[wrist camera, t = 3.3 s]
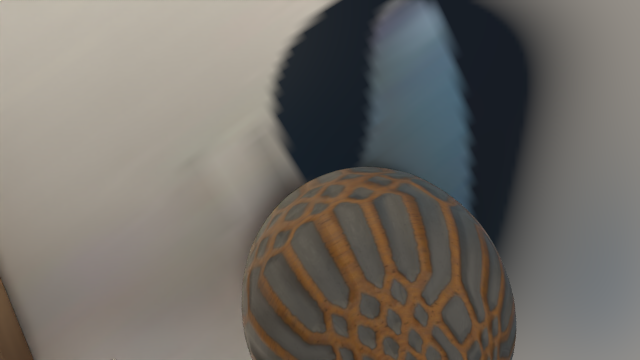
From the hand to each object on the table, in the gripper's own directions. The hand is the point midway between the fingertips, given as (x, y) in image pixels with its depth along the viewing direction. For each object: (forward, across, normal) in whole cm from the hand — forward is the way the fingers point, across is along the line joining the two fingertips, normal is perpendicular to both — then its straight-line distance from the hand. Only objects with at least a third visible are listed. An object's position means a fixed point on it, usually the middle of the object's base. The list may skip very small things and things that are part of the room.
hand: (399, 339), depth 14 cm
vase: (+6, 0, 0) cm, 6 cm away
